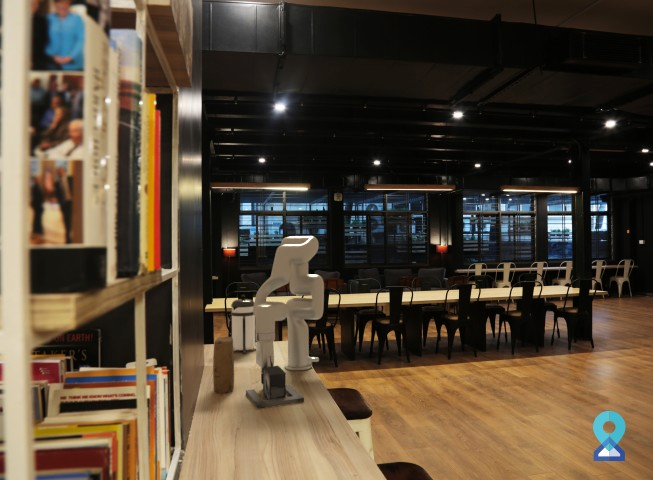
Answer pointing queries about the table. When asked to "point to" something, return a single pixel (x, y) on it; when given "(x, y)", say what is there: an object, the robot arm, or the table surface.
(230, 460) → the table surface
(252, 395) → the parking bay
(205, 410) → the table surface
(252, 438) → the table surface
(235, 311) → the coffee press
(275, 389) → the small box
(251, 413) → the table surface
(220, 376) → the block
